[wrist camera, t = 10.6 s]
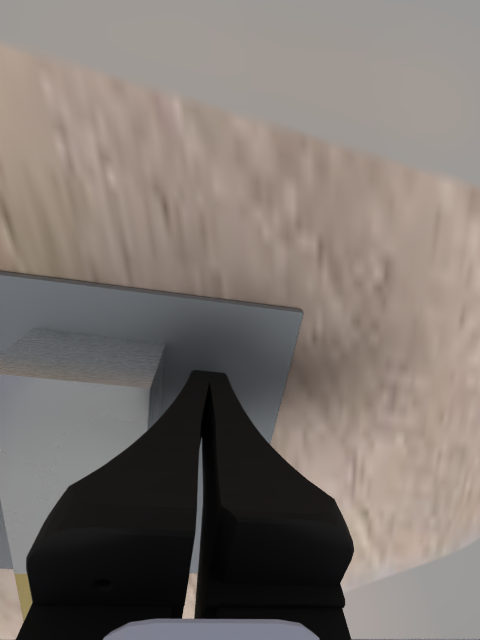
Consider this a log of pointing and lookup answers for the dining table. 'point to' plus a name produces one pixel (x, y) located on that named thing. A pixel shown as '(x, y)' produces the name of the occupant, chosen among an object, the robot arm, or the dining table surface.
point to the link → (67, 421)
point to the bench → (171, 328)
